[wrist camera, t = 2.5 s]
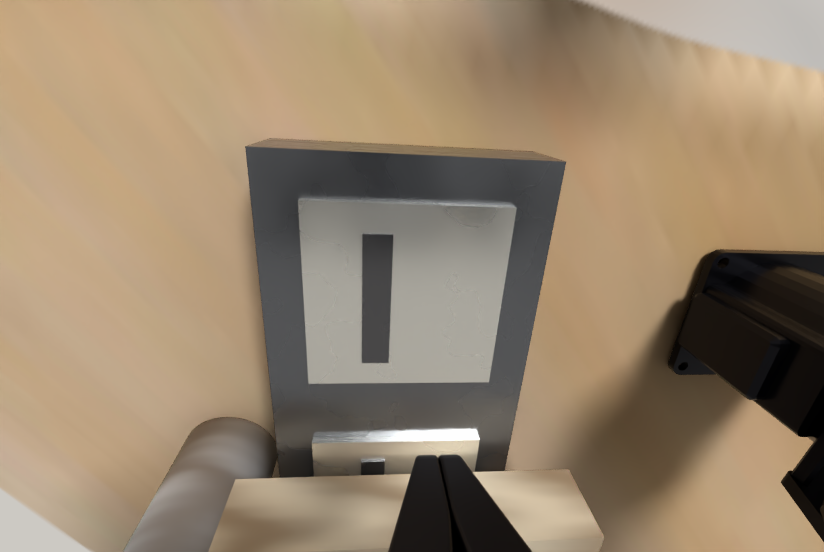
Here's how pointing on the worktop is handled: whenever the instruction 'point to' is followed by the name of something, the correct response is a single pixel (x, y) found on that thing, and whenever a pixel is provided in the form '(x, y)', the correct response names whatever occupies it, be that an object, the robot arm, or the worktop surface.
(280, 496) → the notched beige block
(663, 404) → the worktop surface
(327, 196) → the slab
